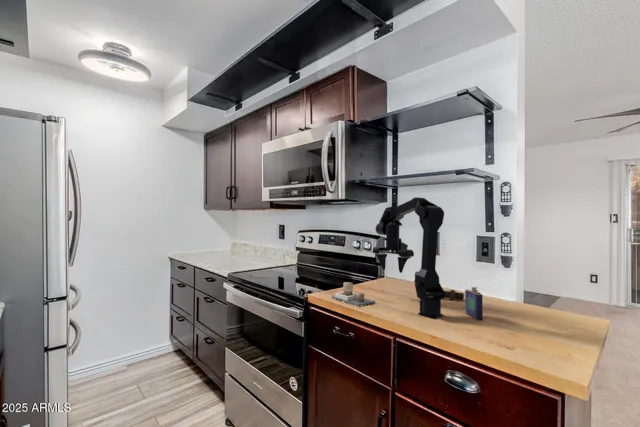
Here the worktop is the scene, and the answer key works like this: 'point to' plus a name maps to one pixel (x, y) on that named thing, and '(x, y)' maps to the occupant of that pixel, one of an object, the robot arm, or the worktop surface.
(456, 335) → the worktop surface
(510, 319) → the worktop surface
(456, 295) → the bolt
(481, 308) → the flask
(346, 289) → the beige rounded cylinder
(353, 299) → the board
